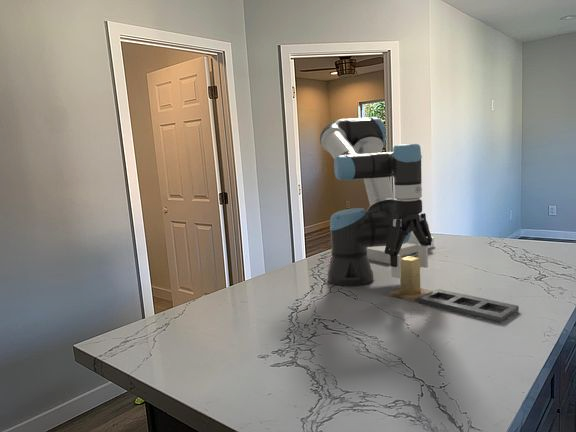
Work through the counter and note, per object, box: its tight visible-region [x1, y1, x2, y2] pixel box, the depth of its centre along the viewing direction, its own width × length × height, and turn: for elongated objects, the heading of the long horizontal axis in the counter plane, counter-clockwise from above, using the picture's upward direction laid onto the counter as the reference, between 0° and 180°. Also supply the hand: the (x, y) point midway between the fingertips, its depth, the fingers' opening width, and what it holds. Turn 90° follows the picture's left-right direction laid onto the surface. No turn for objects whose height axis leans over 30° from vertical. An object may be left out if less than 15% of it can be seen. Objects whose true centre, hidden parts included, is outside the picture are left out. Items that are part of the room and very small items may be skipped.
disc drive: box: [367, 243, 418, 264], centre depth 178 cm, size 18×22×5 cm
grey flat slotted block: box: [418, 288, 519, 324], centre depth 115 cm, size 22×10×2 cm, turn 41°
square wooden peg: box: [399, 256, 421, 295], centre depth 127 cm, size 4×4×10 cm
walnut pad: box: [388, 287, 434, 303], centre depth 128 cm, size 9×9×1 cm
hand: (410, 272), depth 127 cm, fingers open, 13 cm apart
